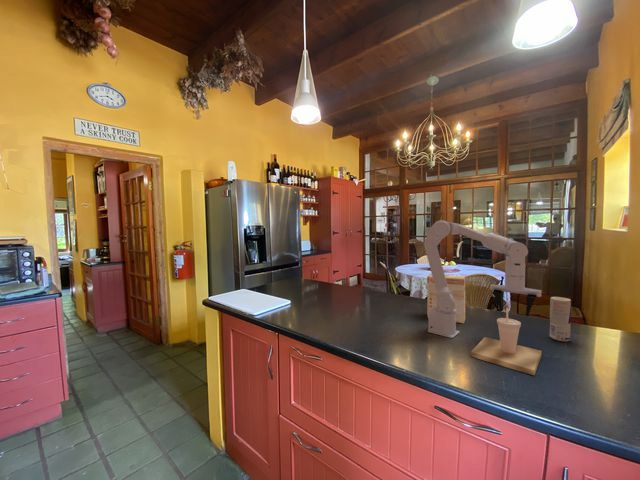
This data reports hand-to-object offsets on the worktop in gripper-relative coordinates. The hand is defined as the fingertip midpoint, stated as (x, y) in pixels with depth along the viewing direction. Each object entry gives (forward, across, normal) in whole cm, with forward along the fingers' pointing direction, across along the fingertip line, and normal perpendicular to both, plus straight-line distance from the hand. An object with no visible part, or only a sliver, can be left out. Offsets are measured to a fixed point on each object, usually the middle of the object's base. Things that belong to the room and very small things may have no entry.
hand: (514, 313), depth 95 cm
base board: (+10, 0, +14) cm, 18 cm away
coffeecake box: (+11, +27, -8) cm, 30 cm away
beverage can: (+11, -11, -14) cm, 21 cm away
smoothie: (+9, -1, +13) cm, 16 cm away
